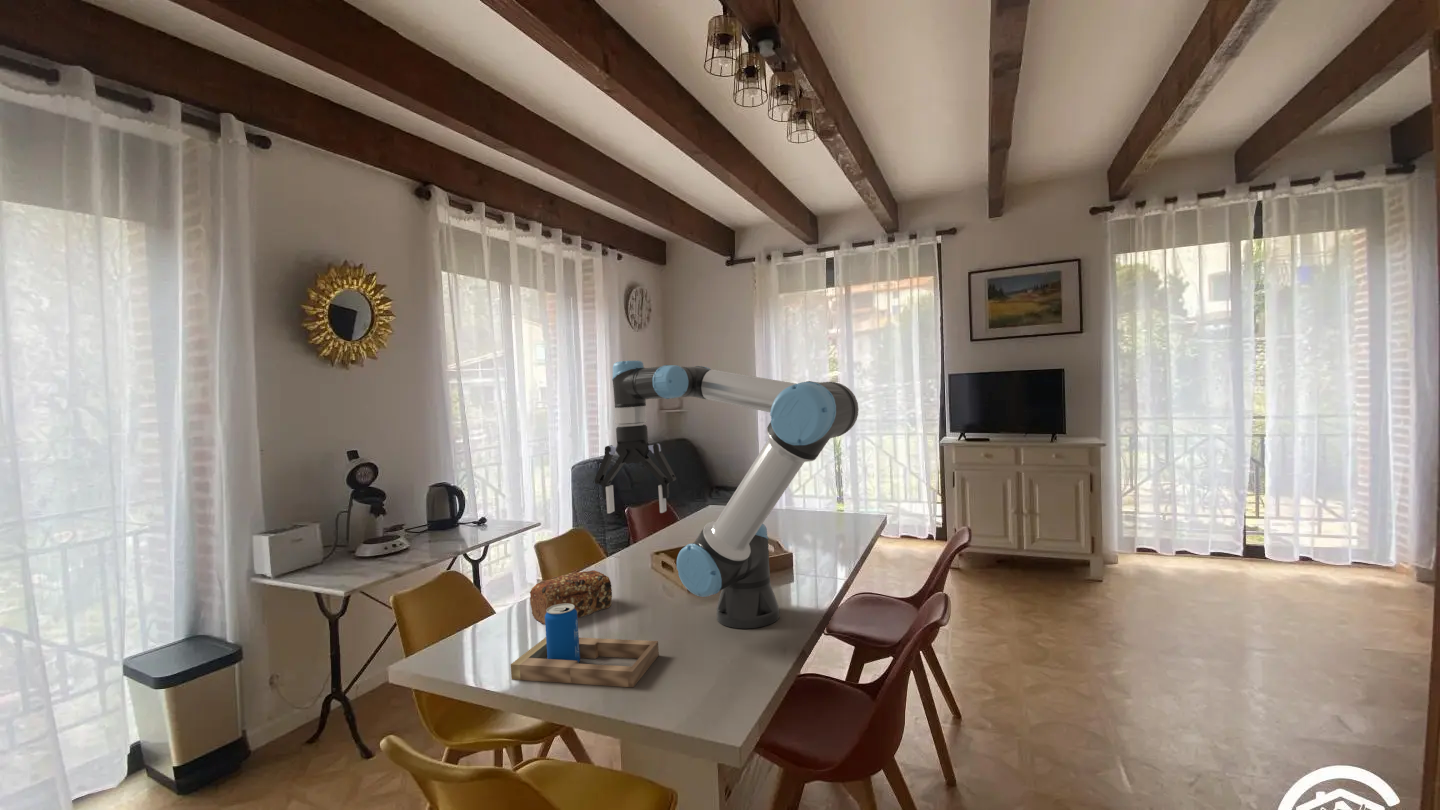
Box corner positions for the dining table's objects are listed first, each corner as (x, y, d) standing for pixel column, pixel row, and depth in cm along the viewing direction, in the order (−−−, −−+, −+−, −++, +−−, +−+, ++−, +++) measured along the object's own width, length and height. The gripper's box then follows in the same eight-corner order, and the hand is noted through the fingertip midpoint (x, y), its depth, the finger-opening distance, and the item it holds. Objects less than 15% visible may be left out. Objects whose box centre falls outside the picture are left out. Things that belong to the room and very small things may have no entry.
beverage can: (571, 673, 122) (568, 614, 121) (542, 672, 123) (538, 613, 123) (585, 659, 128) (581, 602, 128) (557, 658, 129) (553, 602, 129)
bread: (547, 628, 147) (544, 588, 147) (529, 618, 155) (527, 579, 155) (614, 608, 159) (612, 570, 159) (595, 599, 167) (592, 563, 167)
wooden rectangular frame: (658, 655, 128) (658, 641, 128) (633, 687, 114) (632, 671, 114) (548, 649, 134) (547, 636, 134) (511, 679, 121) (510, 664, 120)
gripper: (685, 421, 147) (690, 508, 148) (591, 426, 154) (596, 509, 154) (675, 423, 140) (681, 514, 141) (577, 428, 146) (582, 515, 147)
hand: (636, 512), depth 147 cm, fingers open, 13 cm apart
